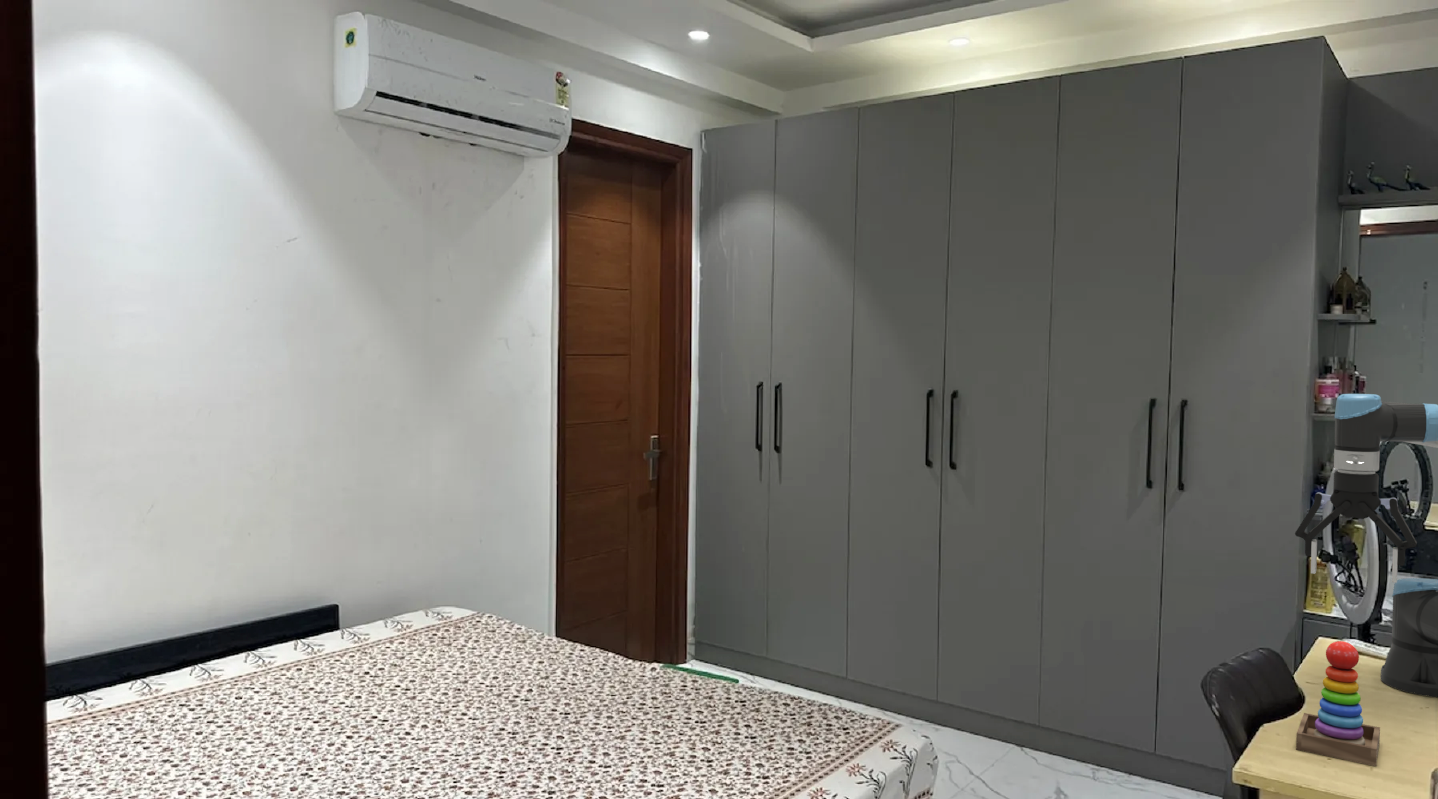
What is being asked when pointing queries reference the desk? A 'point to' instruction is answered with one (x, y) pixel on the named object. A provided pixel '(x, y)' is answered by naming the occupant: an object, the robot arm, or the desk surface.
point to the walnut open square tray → (1338, 743)
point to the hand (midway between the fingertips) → (1353, 576)
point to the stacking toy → (1340, 697)
